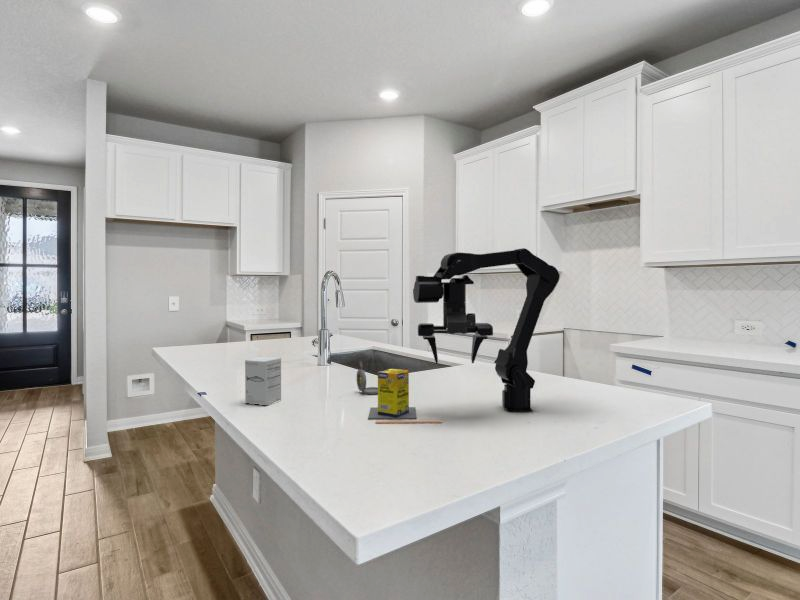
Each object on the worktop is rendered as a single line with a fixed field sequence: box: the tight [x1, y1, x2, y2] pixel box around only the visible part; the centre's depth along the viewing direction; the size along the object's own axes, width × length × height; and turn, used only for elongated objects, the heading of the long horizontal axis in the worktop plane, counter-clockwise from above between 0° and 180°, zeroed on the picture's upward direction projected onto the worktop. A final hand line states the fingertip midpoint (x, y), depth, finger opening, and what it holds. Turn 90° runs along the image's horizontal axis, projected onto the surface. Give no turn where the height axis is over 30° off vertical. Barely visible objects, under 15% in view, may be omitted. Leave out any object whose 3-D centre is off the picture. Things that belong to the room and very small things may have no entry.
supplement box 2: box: [377, 368, 410, 417], centre depth 121 cm, size 6×6×11 cm
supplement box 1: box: [244, 356, 282, 406], centre depth 135 cm, size 7×7×13 cm
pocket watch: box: [356, 361, 378, 395], centre depth 146 cm, size 8×8×10 cm
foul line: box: [375, 420, 443, 425], centre depth 114 cm, size 16×1×1 cm, turn 90°
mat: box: [367, 406, 418, 421], centre depth 122 cm, size 12×10×1 cm
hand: (454, 363), depth 122 cm, fingers open, 9 cm apart
